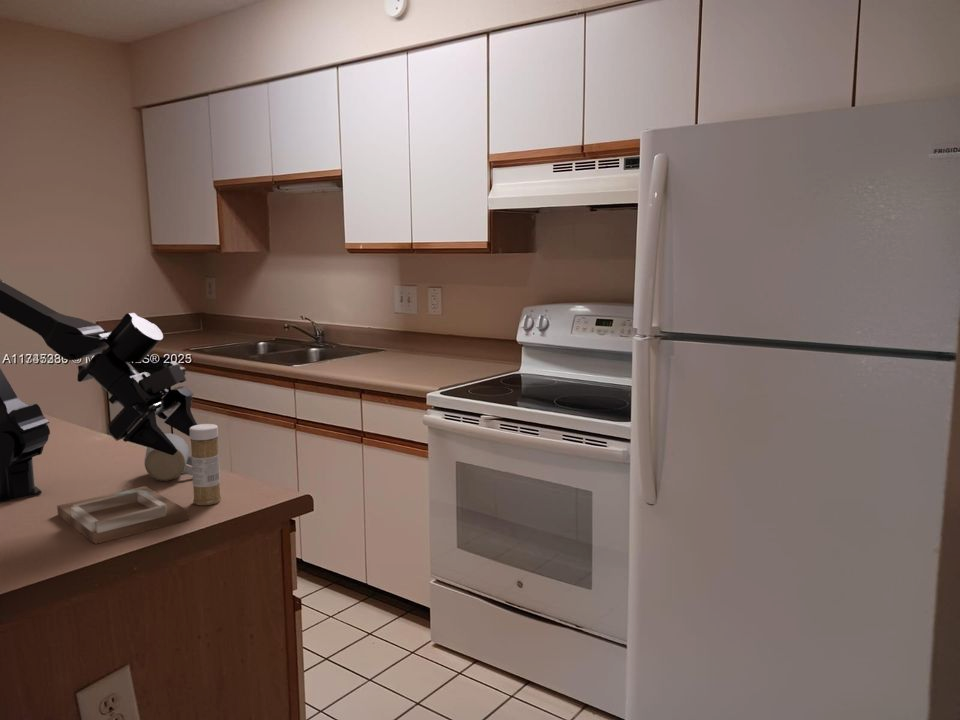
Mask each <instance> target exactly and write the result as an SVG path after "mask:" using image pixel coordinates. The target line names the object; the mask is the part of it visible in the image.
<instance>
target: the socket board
mask: <svg viewBox="0 0 960 720" xmlns="http://www.w3.org/2000/svg"><path fill="white" fill-rule="evenodd" d="M56 506H57V507H56V509H57V516H58V517H60V518H61V519H63V520H64V521H65V522H66V523H67V524H69V525H70V527H72V528H74V529H75V530H76V531H77V532H79V533H80V534H81V533H82V534H81V535H83V536H84V537H85V538H86V539H87V540H89V541H90V540H91V541H92V542H91V541H90V542H91V543H92V544H94V543H95V544H94V545H98V544H97V543H99V544H101V543H102V542H103V543H106V542H110V541H113V539H114V540H117V539H116V538H118V539H121V538H120V537H122V538H124V536H125V537H128V536H127V535H129V536H132V535H131V534H133V535H137V534H139V532H141V533H144V532H148V531H152V530H155V529H159V527H160V528H163V527H166V526H170V524H171V525H174V524H175V525H176V524H179V523H181V522H182V523H183V522H185V520H186V521H189V510H188V509H186V508H185V507H183V506H181V505H179V504H178V503H176V502H174V501H172V500H170V498H167V497H165V496H163V495H161V493H158V492H156V491H154V490H153V489H151V488H149V487H147V486H146V485H145V486H140V487H136V488H132V489H126V490H122V491H117V492H113V493H108V494H103V495H99V496H94V497H90V498H86V499H85V498H84V499H80V500H76V501H72V502H67V503H62V504H58V505H56ZM178 522H179V523H178ZM151 529H152V530H151ZM147 530H148V531H147ZM143 531H144V532H143ZM136 533H137V534H136ZM105 541H106V542H105Z"/></svg>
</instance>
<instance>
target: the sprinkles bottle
mask: <svg viewBox="0 0 960 720" xmlns="http://www.w3.org/2000/svg"><path fill="white" fill-rule="evenodd" d="M189 434H190V437H189V441H190V444H191V445H190V447H191V448H190V449H191V456H190V457H192V466H191V467H192V475H191V477H192V485H193V486H192V487H193V504H195V505H197V506H212V505H215V504H218V503H219V502H221V499H222V497H221V487H220V486H221V484H220V482H221V478H220V477H221V476H220V473H221V472H220V454H219V443H218V439H219V438H218V437H219V427H218V425H217V424H214V423H200V424H197V425H195V426H192V427H190V429H189Z"/></svg>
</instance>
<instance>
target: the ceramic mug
mask: <svg viewBox="0 0 960 720" xmlns="http://www.w3.org/2000/svg"><path fill="white" fill-rule="evenodd" d="M164 434H165V435H166V436H167V438H168V439H169V440H170V441H171V442H172V443H173V445H174V446H175V447H176V449H177V452H176V453H175V454H174V455H170V454H167V453H164V452H161V451H158V450H155V449H152V448H149V447H146V451H145V455H144V456H145V457H144V468H145V470H146V472H147V474H148V475H149V476H150V477H151V478H152V479H154V480H156V481H158V482H160V481H161V482H169V481H172V480H175V479H176V478H177V477H179V476H181V474H187V475H190V476H192V457H191V456H190V455H189V454H190V449H189V445H188V444H187V442H186V441H185V440H184V439H183V438H182V437H181V436H179V435H177V434H174V433H164Z"/></svg>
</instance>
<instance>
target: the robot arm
mask: <svg viewBox="0 0 960 720" xmlns="http://www.w3.org/2000/svg"><path fill="white" fill-rule="evenodd" d="M0 314H2V315H4V316H6V317H7V318H9V319H11V320H13V321H15V322H16V323H18V324H19V325H22V326H23V327H25V328H28V329H29V330H31V331H33V332H34V333H36V334H38V335H39V336H40V337H42V339H43V340H44V342H45V344H46V346H48V348H50V349H51V350H52V351H54V353H56V354H57V355H58V356H60V357H61V358H63V359H65V360H68V361H76V360H81V359H84V358H85V359H86V358H90V357H91V359H90V360H89V361H88V363H84V364H80V365H79V364H78V366H77V369H78V373H77V382H79V383H81V382H86V381H88V380H92V379H93V380H95V381H96V382H97V384H99V385H100V386H101V387H102V388H103V389H104V390H105V392H107V394H108V395H110V397H109V398H108V400H107V401H109V403H110V404H111V405H114V404H116V403H118V404H119V405H120V406H121V407H122V409H121V410H120V411H119V412H118V413H117V414H116V415H115V416H114V417H113V419H112V420H111V421H110V422H109V423H108V424H107V433H108V434H109V435H110V436H111V437H112V438H113V439H114V440H115V441H116V442H117V441H120V440H122V441H123V442H125V443H126V442H127V443H128V442H129V443H133V444H136V445H139V446H143V447H146V448H147V447H149V448H152V449H155V450H158V451H161V452H164V453H167V454H170V455H174V454H175V453H176V452H177V449H176V447H175V446H174V445H173V443H172V442H171V441H170V440H169V439H168V438H167V436H166V435H165V434H166V433H164V432H163V430H162V429H161V428H160V427H159V426H158V424H157V417H158V418H160V419H162V420H165V421H164V424H166V425H168V426H169V427H171V428H172V429H175V430H177V431H178V432H180V433H182V434H184V435H186V436H187V437H189V438H190V434H189V429H190V427H192V426H195V425H198V424H197V421H196V420H195V417H194V416H193V415H194V414H193V413H192V410H191V406H192V405H191V404H192V402H193V399H194V398H193V396H194V394H195V393H194V391H191V389H189V388H188V386H184V385H183V386H181V385H180V386H177V387H175V388H174V387H173V386H175V385H177V384H179V383H180V384H181V383H184V382H186V381H187V378H186V377H185V375H186V370H187V369H186V367H184V366H182V364H181V363H178V362H177V361H175V360H173V361H170V362H168V363H166V364H163V365H162V369H160V370H158V371H156V372H154V373H152V374H151V373H149V372H146V371H144V372H141V373H140V372H139V371H138V370H137V369H136V368H135V367H134V366H133V365H132V364H131V363H136V364H137V363H138V364H139V363H141V362H143V360H145V358H146V357H147V356H148V355H149V354H150V353H151V352H152V351H153V350H154V349H155V347H157V345H158V344H159V343H160V342H161V341H162V340H163V338H164V334H163V332H162V330H161V329H160V328H159V327H158V326H157V325H156V324H155V323H152V322H150V321H149V320H147V319H146V318H143V317H141V316H138V314H136V313H135V312H129V313H128V312H127V313H125V314H124V315H123V317H122V319H121V321H120V322H119V323H118V324H117V325H116V326H115V327H114V329H113V330H112V331H111V330H104V329H103V327H101V326H100V325H99V324H96V323H93V322H91V321H88V320H85V319H82V318H80V317H74V316H71V315H67V314H66V315H65V314H63V313H60V312H57V311H56V310H54V309H52V308H51V307H49V306H47V305H46V304H43V303H41V302H40V301H38V300H36V299H34V298H33V297H30V296H28V295H27V294H26V293H23V292H21V291H20V290H18V289H17V288H14V287H13V286H11V285H9V284H7V283H6V282H4V280H3V279H1V278H0ZM105 348H106V349H105ZM104 349H105V350H104ZM103 350H104V351H103ZM102 352H103V353H102ZM171 387H173V388H171ZM169 388H171V389H170V390H169ZM156 415H157V417H156ZM48 424H50V421H49V420H48V419H47V418H46V417H45V415H44V414H43V412H42V409H41V407H40V405H39V404H38V403H32V404H29V405H28V404H26V403H25V402H23V401H21V400H20V398H19V397H18V396H17V394H16V392H15V391H14V388H13V387H12V386H11V384H10V382H9V380H8V379H7V377H6V375H5V374H4V371H2V369H1V368H0V503H2V502H3V503H5V502H8V501H13V500H18V499H23V498H28V497H33V496H38V495H41V494H42V490H41V489H40V488H38V486H36V485H35V476H34V475H35V474H34V462H33V458H34V457H36V456H40V455H43V451H44V447H45V445H46V444H47V442H48V441H49V437H50V435H51V430H50V427H49V425H48Z"/></svg>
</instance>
